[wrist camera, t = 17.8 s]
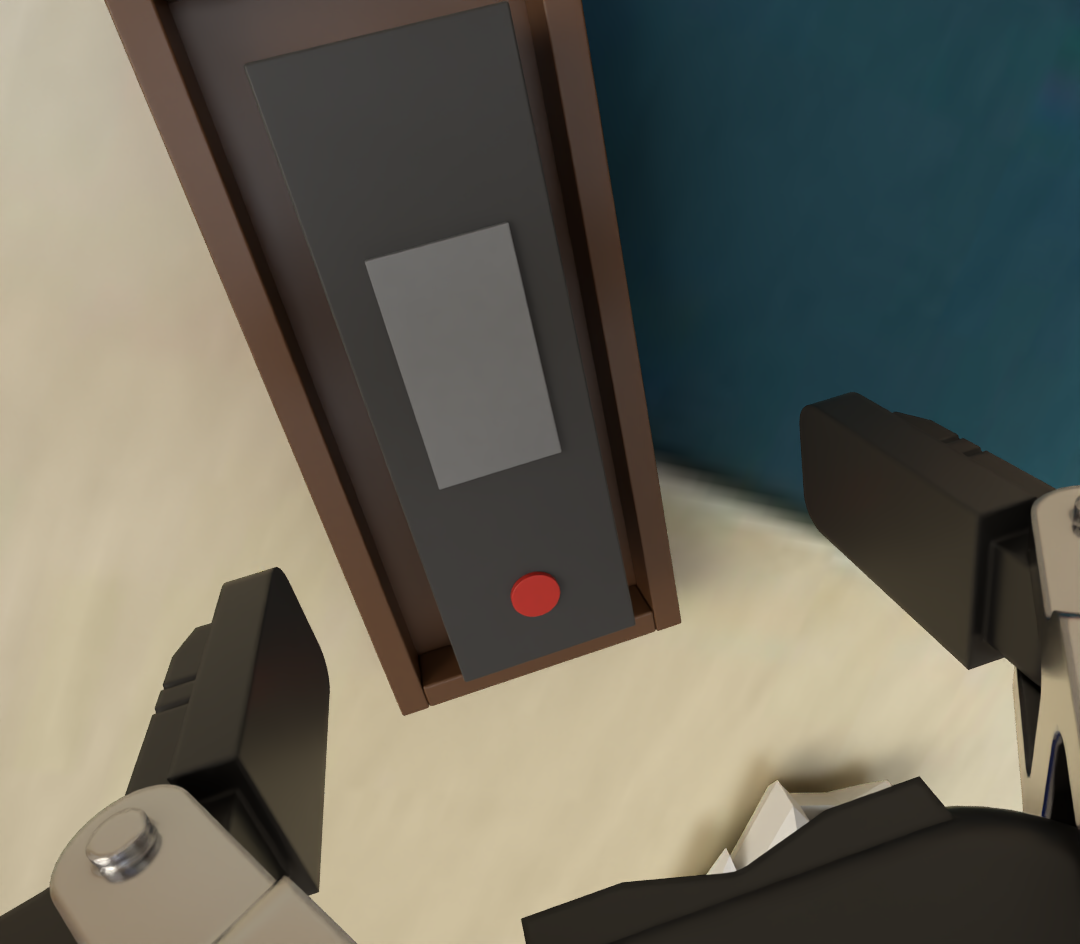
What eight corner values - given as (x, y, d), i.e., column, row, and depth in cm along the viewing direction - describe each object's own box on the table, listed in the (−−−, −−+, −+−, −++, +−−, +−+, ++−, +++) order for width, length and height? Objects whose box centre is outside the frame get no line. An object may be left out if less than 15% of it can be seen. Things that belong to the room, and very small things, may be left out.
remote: (263, 73, 15) (240, 63, 12) (476, 21, 16) (510, -2, 13) (448, 601, 22) (466, 687, 19) (596, 553, 22) (638, 629, 19)
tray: (534, -123, 16) (557, -153, 14) (657, 586, 24) (682, 623, 22) (113, -32, 15) (81, -52, 13) (398, 671, 23) (402, 717, 22)
